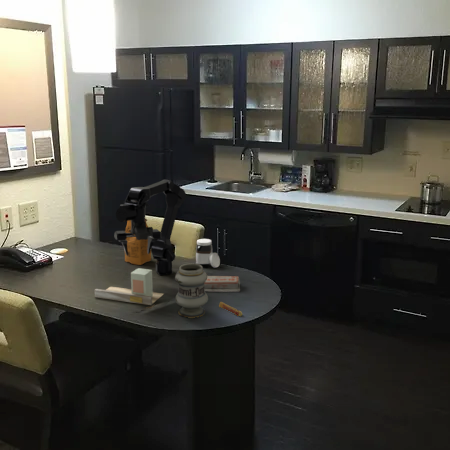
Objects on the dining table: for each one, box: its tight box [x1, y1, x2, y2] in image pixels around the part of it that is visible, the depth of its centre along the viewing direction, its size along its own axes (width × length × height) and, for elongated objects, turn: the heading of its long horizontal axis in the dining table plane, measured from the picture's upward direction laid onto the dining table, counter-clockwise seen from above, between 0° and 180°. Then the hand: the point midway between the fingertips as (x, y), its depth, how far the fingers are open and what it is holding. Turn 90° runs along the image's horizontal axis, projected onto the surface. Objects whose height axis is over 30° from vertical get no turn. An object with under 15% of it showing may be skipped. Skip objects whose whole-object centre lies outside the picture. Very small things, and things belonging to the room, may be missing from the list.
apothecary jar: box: [174, 262, 209, 319], centre depth 194 cm, size 12×12×18 cm
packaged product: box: [204, 275, 241, 293], centre depth 220 cm, size 18×5×10 cm
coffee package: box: [123, 218, 152, 266], centre depth 250 cm, size 10×12×22 cm
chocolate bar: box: [218, 301, 244, 317], centre depth 197 cm, size 3×12×2 cm, turn 39°
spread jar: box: [195, 238, 221, 269], centre depth 247 cm, size 12×11×12 cm
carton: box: [130, 267, 154, 297], centre depth 203 cm, size 6×6×11 cm
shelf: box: [94, 286, 164, 309], centre depth 207 cm, size 12×24×4 cm, turn 72°
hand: (137, 254), depth 221 cm, fingers open, 9 cm apart
